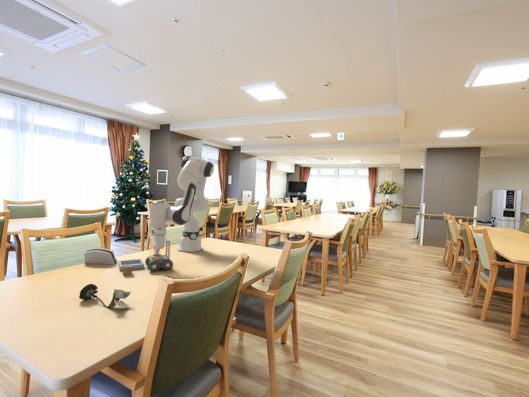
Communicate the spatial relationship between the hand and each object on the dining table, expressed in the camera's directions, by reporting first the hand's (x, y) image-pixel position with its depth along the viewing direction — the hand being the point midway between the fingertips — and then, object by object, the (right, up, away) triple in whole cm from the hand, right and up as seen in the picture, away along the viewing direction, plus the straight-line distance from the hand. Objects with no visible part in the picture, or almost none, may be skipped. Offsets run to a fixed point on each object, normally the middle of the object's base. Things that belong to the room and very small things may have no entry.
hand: (156, 253), depth 152 cm
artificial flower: (-1, -11, -46) cm, 47 cm away
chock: (-11, -9, -11) cm, 18 cm away
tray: (-15, -8, +1) cm, 17 cm away
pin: (0, -3, 0) cm, 3 cm away
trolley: (+1, -9, +1) cm, 9 cm away
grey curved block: (-35, -7, +5) cm, 36 cm away
